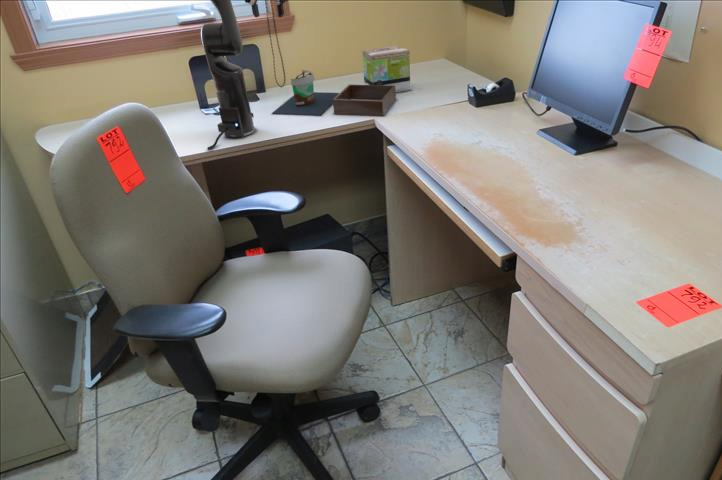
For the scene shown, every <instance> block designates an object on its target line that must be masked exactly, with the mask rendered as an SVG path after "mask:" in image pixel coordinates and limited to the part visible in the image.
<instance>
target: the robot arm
mask: <svg viewBox="0 0 722 480" xmlns="http://www.w3.org/2000/svg"><path fill="white" fill-rule="evenodd" d="M273 1H274V2H275V3H276V4H277V5H276V10H277V16H278V18H283V17H284V15H285V9H284V3H286V2H288V1H289V0H273ZM209 2H211V4H212V5H213V6H214V8H215V9H216V11H217V13H218V15H219V18H220V20H221V22H207V23H204V24H203V25H202V26H201V29H200V40H201V44H202V48H203V52H204V54H205V58H206V61H207V65H208V69H209V72H210V74H211V77H212V81H213V84H214V89H215V93H216V99H217V103H218V112H219V116H220V121H221V122H219V123H217V130H218V133H219V134H218V135H217V137H216V138H215V141H214V142H213V144H212V145H210V146H208V147H206V149H207V150H212V149H214V148H215V147H216V146H217V144H218V143H219V140H220V138H221V137H222V136H223V135H224V137H225V138H241V139H242V138H244V137H247V136H249V135H252V134H253V133H255V131H256V127H255V125H254V112H252V110H251V109H252V108H251V106H250V100H249V96H248V90H247V86H246V80H245V76H244V75H245V74H244V71H243V68H242V67H241V66H239V65H237V64H234V63H231V62H230V61H227V60H226V59H225V58H224V57H234V56H235V57H236V56H240V55H241V54H242V52H243V48H244V47H243V38H242V32H241V29H240V26H239V23H238V20H237V16H236V13H235V10H234V7H233V6H234V5H233V4H232V0H209ZM244 2H245V4H250V7H251V12H252V15H253V16H254V18H259V17H260V10H259V4H258V2H259V0H244Z"/></svg>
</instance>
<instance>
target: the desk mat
mask: <svg viewBox="0 0 722 480" xmlns="http://www.w3.org/2000/svg"><path fill="white" fill-rule="evenodd" d="M339 93H340V92H319V91H318V92H317V91H314V103H313V104H310V105H307V106H300V107H296V102H295V97H294V95H292V96H290V98H289V99H287V100H286V101H285V102H284V103H283V104H281V105H280V106H279V107H278V108H276V109H275V110H274V111H272V112H271V114H272V115H284V116H285V115H289V116H310V117H311V116H312V117H314V116H315V117H321V116H322V115H323V114H324V113H325V112H326V111H327V110H328V109H329V108H330V107H331V106H333V99H334V98H335V97H336V96H337V95H338V94H339Z"/></svg>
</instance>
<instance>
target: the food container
mask: <svg viewBox="0 0 722 480" xmlns="http://www.w3.org/2000/svg"><path fill="white" fill-rule="evenodd" d="M314 81H315V74H313V72H312V71H311V70H307V69H301V73H300V74H298V75H297V76H296V77H295V78H291V79H290V84H291V87H292V92H293V96H294V97H295V102H296V107H300V106H307V105H310V104H313V103H314V92H315V90H314Z"/></svg>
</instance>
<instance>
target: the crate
mask: <svg viewBox="0 0 722 480" xmlns="http://www.w3.org/2000/svg"><path fill="white" fill-rule="evenodd" d="M338 93H339V94H338V95H337V96H336V97H335V98H334V99H333V104H332V107H333V115H345V116H347V115H348V116H369V117H371V116H373V117H374V116H375V117H384V116H385V115H386V113H387V112H388V111H389V109H390V108H391V107H392V105H393V104H394V103H395V102H396V100H397V92H396V90H395V86H391V85H364V84H351V83H349V84H347V85H346V86H345V87H344V88H343V89H342V90H341V91H340V92H338Z"/></svg>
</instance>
